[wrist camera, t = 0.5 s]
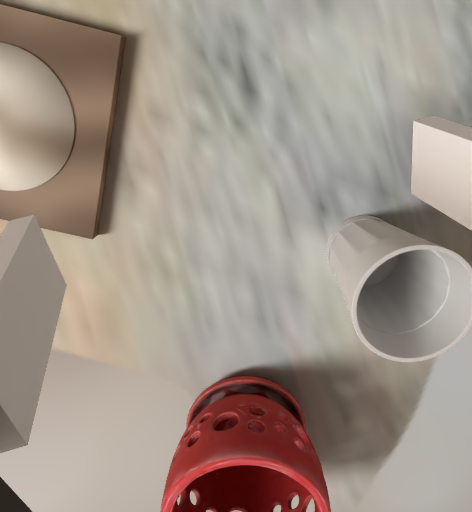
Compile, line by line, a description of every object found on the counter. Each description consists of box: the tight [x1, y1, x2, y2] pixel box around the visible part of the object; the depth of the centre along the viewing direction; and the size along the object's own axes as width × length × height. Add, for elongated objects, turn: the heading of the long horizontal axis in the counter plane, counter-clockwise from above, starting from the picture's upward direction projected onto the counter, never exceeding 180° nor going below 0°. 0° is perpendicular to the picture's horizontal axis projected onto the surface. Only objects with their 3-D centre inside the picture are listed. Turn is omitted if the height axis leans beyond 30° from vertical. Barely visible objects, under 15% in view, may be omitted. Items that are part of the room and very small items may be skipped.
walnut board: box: [0, 4, 125, 239], centre depth 34 cm, size 16×16×2 cm
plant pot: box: [161, 376, 331, 512], centre depth 38 cm, size 13×13×12 cm
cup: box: [326, 215, 472, 362], centre depth 32 cm, size 8×8×12 cm
